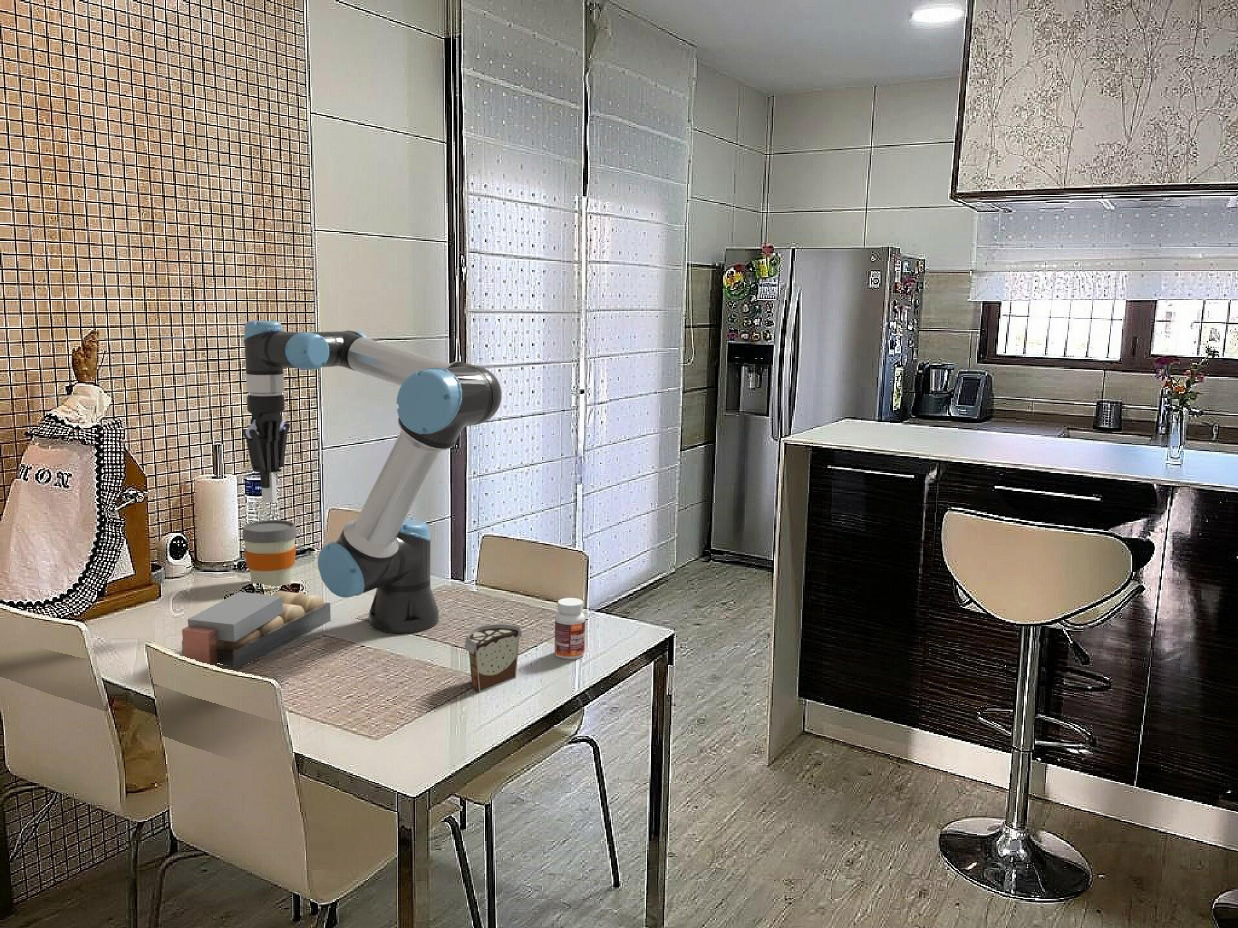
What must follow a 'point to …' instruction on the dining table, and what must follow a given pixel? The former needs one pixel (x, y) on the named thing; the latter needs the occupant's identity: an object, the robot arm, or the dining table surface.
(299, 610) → the roller
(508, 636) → the food container
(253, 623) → the slab
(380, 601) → the robot arm
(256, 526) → the reusable coffee cup
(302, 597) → the roller
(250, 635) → the roller
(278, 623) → the roller
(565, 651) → the pill bottle
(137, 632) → the dining table surface
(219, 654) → the roller bed
